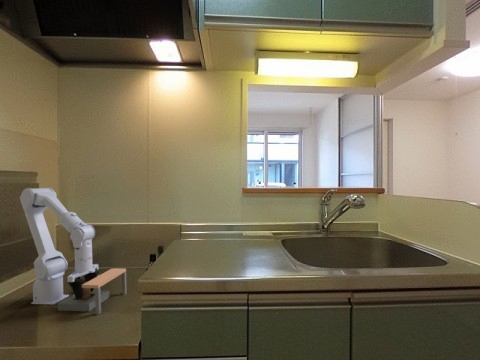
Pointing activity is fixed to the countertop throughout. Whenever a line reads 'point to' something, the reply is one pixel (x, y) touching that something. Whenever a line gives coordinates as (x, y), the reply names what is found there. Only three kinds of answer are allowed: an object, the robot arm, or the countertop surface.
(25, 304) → the countertop surface
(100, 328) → the countertop surface
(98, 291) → the orange bridge
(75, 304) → the socket
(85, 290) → the peg
